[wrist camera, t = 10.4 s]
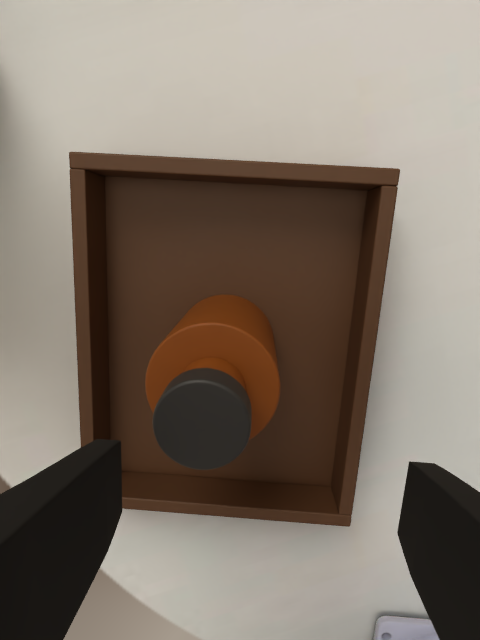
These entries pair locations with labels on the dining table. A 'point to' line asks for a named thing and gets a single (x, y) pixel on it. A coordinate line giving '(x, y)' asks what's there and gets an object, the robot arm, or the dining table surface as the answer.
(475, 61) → the dining table surface
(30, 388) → the dining table surface
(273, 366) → the bottle
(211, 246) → the tray
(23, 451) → the dining table surface
